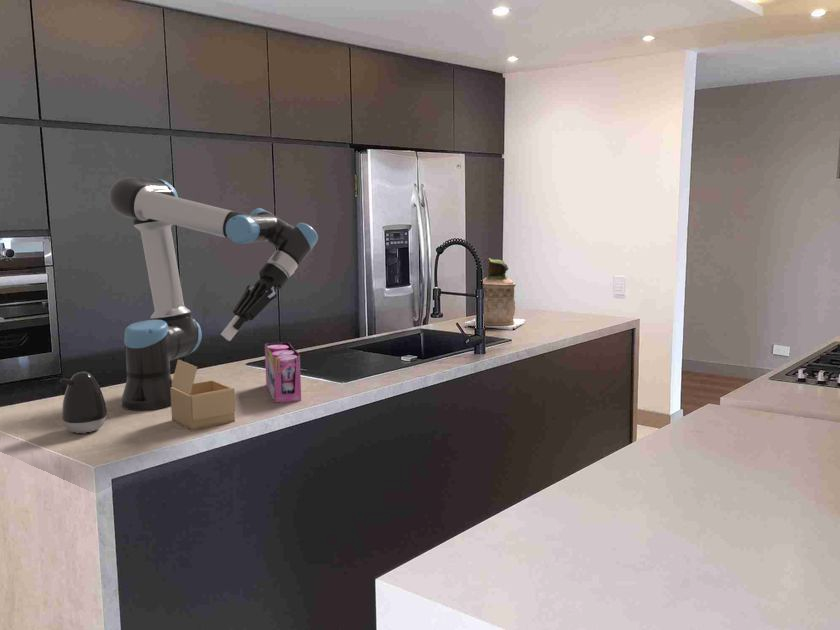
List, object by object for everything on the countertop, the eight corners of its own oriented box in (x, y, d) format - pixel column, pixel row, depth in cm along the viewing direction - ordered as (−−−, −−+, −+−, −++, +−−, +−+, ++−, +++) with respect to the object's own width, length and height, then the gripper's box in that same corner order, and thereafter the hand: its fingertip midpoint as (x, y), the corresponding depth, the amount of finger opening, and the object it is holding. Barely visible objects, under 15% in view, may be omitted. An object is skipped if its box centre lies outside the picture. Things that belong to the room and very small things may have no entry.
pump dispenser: (56, 430, 181) (51, 372, 178) (97, 421, 188) (93, 365, 186) (72, 439, 174) (67, 379, 171) (114, 430, 181) (110, 371, 179)
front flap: (172, 385, 188) (171, 385, 188) (179, 359, 189) (177, 359, 188) (190, 394, 180) (189, 393, 180) (197, 366, 180) (196, 366, 180)
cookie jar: (514, 330, 326) (516, 260, 321) (463, 327, 334) (463, 259, 329) (526, 322, 348) (528, 256, 343) (477, 319, 357) (478, 255, 352)
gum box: (302, 402, 207) (301, 356, 205) (275, 404, 205) (273, 358, 203) (290, 383, 230) (289, 341, 228) (265, 385, 227) (264, 343, 225)
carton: (171, 419, 190) (169, 386, 189) (215, 411, 198) (213, 379, 197) (192, 431, 180) (190, 396, 179) (237, 421, 189) (235, 388, 187)
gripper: (299, 281, 195) (246, 349, 187) (274, 277, 205) (223, 342, 197) (281, 263, 191) (227, 332, 183) (256, 260, 201) (204, 325, 192)
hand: (225, 337), depth 190 cm, fingers closed
